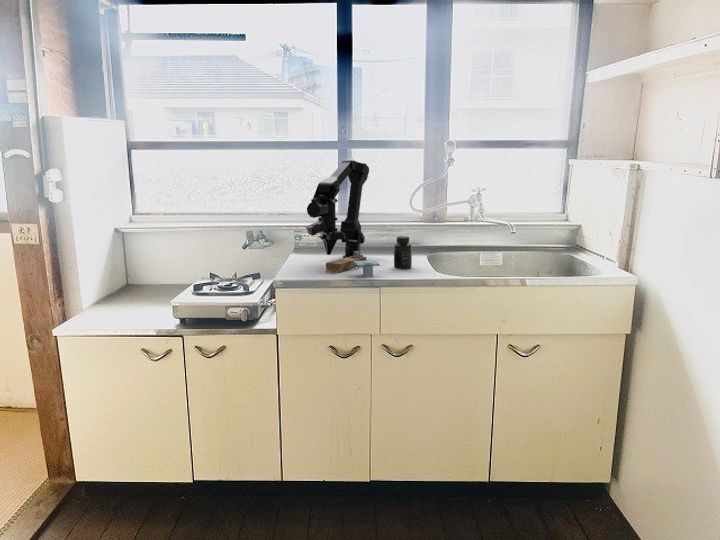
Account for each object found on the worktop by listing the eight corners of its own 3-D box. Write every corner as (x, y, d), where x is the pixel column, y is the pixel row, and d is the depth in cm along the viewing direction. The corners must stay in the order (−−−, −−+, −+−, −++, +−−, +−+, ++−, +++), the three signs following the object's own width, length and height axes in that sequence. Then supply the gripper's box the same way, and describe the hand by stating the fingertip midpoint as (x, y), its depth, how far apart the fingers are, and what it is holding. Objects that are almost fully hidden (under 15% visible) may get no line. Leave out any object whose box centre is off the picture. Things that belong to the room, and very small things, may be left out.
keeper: (379, 276, 190) (379, 263, 189) (357, 277, 188) (357, 265, 187) (374, 271, 196) (374, 260, 195) (353, 272, 194) (353, 261, 193)
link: (337, 273, 194) (337, 264, 193) (325, 271, 197) (325, 262, 197) (366, 264, 208) (366, 256, 207) (355, 263, 211) (355, 255, 211)
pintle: (356, 264, 209) (356, 250, 208) (360, 265, 208) (360, 251, 207) (352, 265, 207) (352, 251, 206) (357, 265, 206) (357, 252, 205)
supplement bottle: (413, 266, 205) (414, 236, 203) (409, 270, 199) (409, 238, 196) (396, 265, 207) (396, 235, 205) (391, 268, 201) (392, 237, 198)
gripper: (299, 213, 207) (300, 252, 211) (317, 218, 191) (318, 261, 194) (326, 211, 212) (326, 250, 215) (345, 217, 195) (345, 258, 199)
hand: (328, 254), depth 206 cm, fingers closed
